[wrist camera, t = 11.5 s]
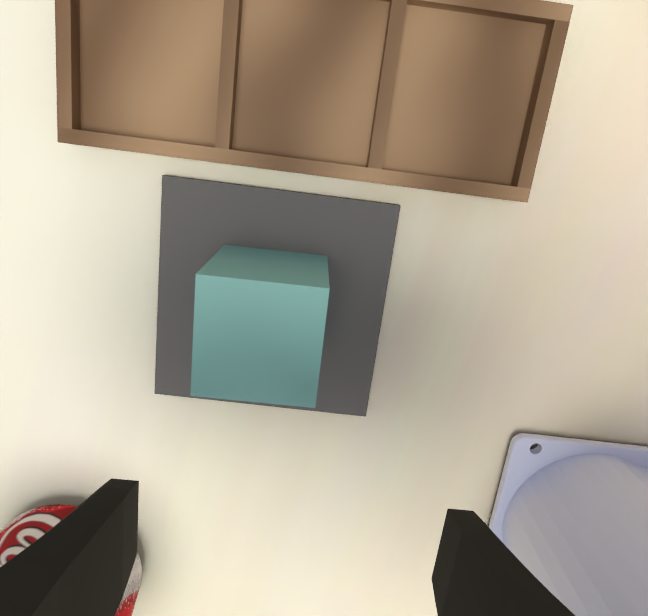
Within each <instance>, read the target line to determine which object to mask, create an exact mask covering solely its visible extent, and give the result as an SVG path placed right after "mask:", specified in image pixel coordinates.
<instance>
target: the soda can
mask: <svg viewBox="0 0 648 616" xmlns="http://www.w3.org/2000/svg"><path fill="white" fill-rule="evenodd" d="M76 508H77V507H76V506H71V505H47V506H42V507H37V508H34V509H31V510H28V511H26V512H24V513H22V514H20V515H19V516H17V517H15V518H14V519H13V520H12V521H11V522H9V523H8V524H7V525H6V526H5V527H4V528H3V529H2V530H1V531H0V567H1V566H2V565H4V564H5V563H6V562H8V561H9V560H11V559H12V558H13V557H15V556H16V555H17V554H19V553H20V552H21V551H23V550H24V549H26V548H27V547H28V546H30V545H31V544H32V543H34V542H35V541H36V540H37V539H39V538H40V537H41V536H43V535H44V534H45V533H46V532H48V531H49V530H50V529H51V528H53V527H54V526H55V525H56V524H57V523H59V522H60V521H61V520H62V519H64V518H65V517H66V516H67V515H69V514H70V513H71V512H72V511H73V510H75V509H76ZM141 578H142V565H141V560H140V556H139V554H138V551H137V555H136V559H135V562H134V565H133V568H132V571H131V574H130V577H129V580H128V583H127V586H126V589H125V592H124V595H123V598H122V600H121V603H120V605H119V607H118V609H117V612H116V614H115V616H132V613H133V609H134V605H135V602H136V598H137V595H138V591H139V588H140V584H141Z"/></svg>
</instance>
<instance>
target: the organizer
mask: <svg viewBox="0 0 648 616" xmlns="http://www.w3.org/2000/svg"><path fill="white" fill-rule="evenodd" d="M572 9H573V5H569V4H562V3H556V2H549V1H542V0H55V26H56V77H57V127H58V142H62V143H69V144H77V145H85V146H93V147H100V148H108V149H116V150H124V151H131V152H139V153H147V154H155V155H163V156H170V157H178V158H186V159H194V160H201V161H209V162H217V163H225V164H232V165H240V166H248V167H256V168H264V169H271V170H279V171H287V172H295V173H302V174H310V175H318V176H326V177H334V178H341V179H349V180H357V181H365V182H372V183H380V184H388V185H396V186H403V187H411V188H419V189H427V190H435V191H442V192H450V193H458V194H466V195H473V196H481V197H489V198H497V199H505V200H512V201H520V202H528V198H529V194H530V189H531V185H532V181H533V176H534V172H535V168H536V164H537V159H538V155H539V151H540V146H541V142H542V138H543V134H544V129H545V125H546V121H547V116H548V112H549V108H550V104H551V99H552V95H553V91H554V87H555V82H556V78H557V74H558V69H559V65H560V61H561V57H562V52H563V48H564V44H565V39H566V35H567V31H568V27H569V22H570V18H571V14H572Z"/></svg>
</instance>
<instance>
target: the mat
mask: <svg viewBox="0 0 648 616" xmlns="http://www.w3.org/2000/svg"><path fill="white" fill-rule="evenodd" d="M399 211H400V205H397V204H389V203H381V202H373V201H365V200H357V199H349V198H342V197H334V196H326V195H318V194H310V193H302V192H294V191H286V190H279V189H271V188H263V187H255V186H247V185H239V184H231V183H223V182H216V181H208V180H200V179H192V178H184V177H176V176H168V175H162V201H161V229H160V257H159V285H158V313H157V341H156V369H155V394H164V395H173V396H182V397H191V398H200V399H210V400H219V401H228V402H237V403H246V404H256V405H265V406H274V407H283V408H292V409H302V410H311V411H320V412H329V413H338V414H348V415H357V416H366V411H367V405H368V399H369V393H370V387H371V381H372V375H373V369H374V363H375V357H376V351H377V345H378V338H379V332H380V326H381V320H382V314H383V308H384V302H385V296H386V290H387V284H388V278H389V272H390V266H391V260H392V254H393V248H394V242H395V236H396V229H397V223H398V217H399ZM224 245H233V246H242V247H251V248H260V249H269V250H278V251H288V252H297V253H306V254H315V255H324V256H327V259H328V273H329V286H330V290H329V298H328V307H327V315H326V323H325V332H324V340H323V348H322V356H321V365H320V373H319V381H318V390H317V398H316V406H315V408H309V407H298V406H288V405H278V404H268V403H258V402H247V401H237V400H227V399H217V398H207V397H196V396H190V393H191V370H192V348H193V325H194V302H195V279H196V273H197V272H198V271H199V270H200V269H201V268H202V267H203V266H204V265H205V264H206V263H207V262H208V261H209V260H210V259H211V258H212V257H213V256H214V255H215V254H216V253H217V252H218V251H219V250H220V249H221V248H222V247H223V246H224Z"/></svg>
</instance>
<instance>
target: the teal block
mask: <svg viewBox="0 0 648 616" xmlns="http://www.w3.org/2000/svg"><path fill="white" fill-rule="evenodd" d="M329 290H330V286H329V273H328V259H327V256H324V255H315V254H306V253H297V252H288V251H278V250H269V249H260V248H251V247H242V246H233V245H224V246H223V247H222V248H221V249H220V250H219V251H218V252H217V253H216V254H215V255H214V256H213V257H212V258H211V259H210V260H209V261H208V262H207V263H206V264H205V265H204V266H203V267H202V268H201V269H200V270H199V271H198V272H197V273H196V279H195V302H194V325H193V348H192V370H191V393H190V396H196V397H207V398H217V399H227V400H237V401H247V402H258V403H268V404H278V405H288V406H298V407H309V408H315V406H316V398H317V390H318V381H319V373H320V365H321V356H322V348H323V340H324V332H325V323H326V315H327V307H328V298H329Z"/></svg>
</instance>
